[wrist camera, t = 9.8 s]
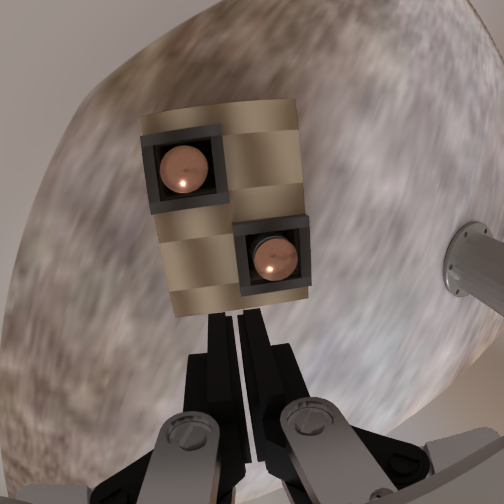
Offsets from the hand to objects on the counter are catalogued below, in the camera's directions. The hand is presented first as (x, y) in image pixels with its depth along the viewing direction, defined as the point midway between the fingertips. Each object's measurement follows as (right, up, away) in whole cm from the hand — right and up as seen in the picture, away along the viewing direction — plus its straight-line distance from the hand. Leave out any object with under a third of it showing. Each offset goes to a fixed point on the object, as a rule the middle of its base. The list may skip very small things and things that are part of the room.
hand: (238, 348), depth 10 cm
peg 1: (-6, +12, +20) cm, 24 cm away
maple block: (-2, +8, +22) cm, 24 cm away
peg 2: (+2, +5, +24) cm, 24 cm away
